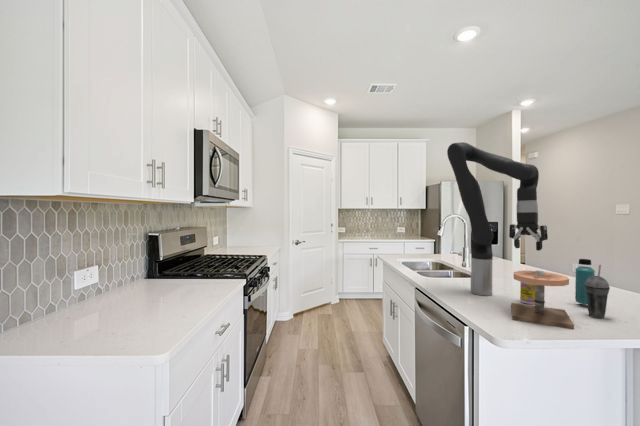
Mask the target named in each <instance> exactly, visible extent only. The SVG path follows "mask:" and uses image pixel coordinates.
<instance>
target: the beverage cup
mask: <svg viewBox="0 0 640 426" xmlns="http://www.w3.org/2000/svg"><path fill="white" fill-rule="evenodd" d="M601 268H602V264H598V272H597V275H595V276H592V277H589V278H588V279H587V280H586V282H585V289H586V292H587V303H588V305H587V312H588V316H589V317H591V318H594V319H601V320H602V319H603V320H604V319H605V316H606V311H607V304H608V296H609V293H610V284H609V282H608V280H607V279H605V278H604V277H601V276H600V274H601Z"/></svg>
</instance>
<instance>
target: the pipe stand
mask: <svg viewBox="0 0 640 426" xmlns="http://www.w3.org/2000/svg"><path fill="white" fill-rule="evenodd" d="M534 271H535V276H545V272H546V271H543V270H534ZM545 287H546V286H543V285H535V299H534V302H535V304H534V305H533V304H525V303H524V304H523V303H515V302H511V304H510V306H511V308H512V309H511V317H512V320H513V321H517V320H520V321H519V322H524V321H525V322H526V323H530V322H531V323H532V324H537V325H545V326H551V327H556V328H557V327H558V328H564V329H569V330H574V329H575V324H574V323H573V321H572V319H571V318H570V315H568V312H567V311H566V309H563V308H561V309H560V308H553V307H546V306H545V304H546V301H545Z"/></svg>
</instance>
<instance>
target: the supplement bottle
mask: <svg viewBox="0 0 640 426" xmlns="http://www.w3.org/2000/svg"><path fill="white" fill-rule="evenodd" d="M519 292H520V297H519V298H520V299H519V300H520V302H521V303H522V304H523V303H524V304H525V305H535V302H534V299H535V285H534V284H529V283H524V282H520V291H519Z"/></svg>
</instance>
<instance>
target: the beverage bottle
mask: <svg viewBox="0 0 640 426" xmlns="http://www.w3.org/2000/svg"><path fill="white" fill-rule="evenodd" d="M578 264H579V265H581V266H578V267H576V268H575V294H574V299H575V302H576V303H579V304H582V305H587V306H588V303H587V292H586V289H585V282H586V280H587V279H588V278H589V277H592V276H596V275H595V273H596V272H595V269H593V267H589V266H592V260H591V259H590V258H589V259H587V258H579V259H578ZM582 265H585V266H582Z"/></svg>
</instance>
